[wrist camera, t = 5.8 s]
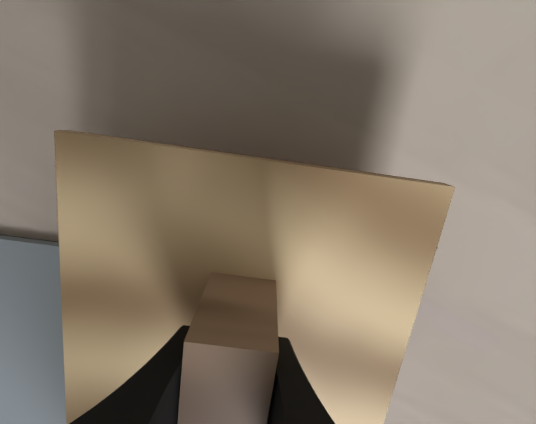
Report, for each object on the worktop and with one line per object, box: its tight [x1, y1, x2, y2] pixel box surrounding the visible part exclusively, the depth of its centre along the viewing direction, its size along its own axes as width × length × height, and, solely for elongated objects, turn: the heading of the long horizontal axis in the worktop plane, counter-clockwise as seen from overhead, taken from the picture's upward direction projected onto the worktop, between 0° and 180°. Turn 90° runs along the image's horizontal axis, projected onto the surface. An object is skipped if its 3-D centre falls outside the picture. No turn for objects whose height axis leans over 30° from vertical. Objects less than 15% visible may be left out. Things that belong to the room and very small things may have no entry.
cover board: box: [54, 130, 455, 424], centre depth 11 cm, size 14×14×5 cm
